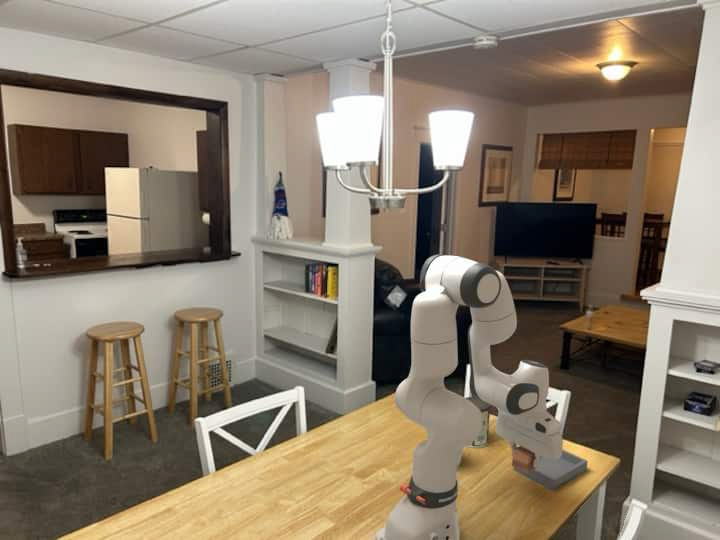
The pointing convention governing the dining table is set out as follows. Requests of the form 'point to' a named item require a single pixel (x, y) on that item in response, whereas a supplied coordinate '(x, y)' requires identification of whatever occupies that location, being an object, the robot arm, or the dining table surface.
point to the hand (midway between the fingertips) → (525, 461)
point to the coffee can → (483, 437)
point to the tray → (557, 470)
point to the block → (523, 459)
